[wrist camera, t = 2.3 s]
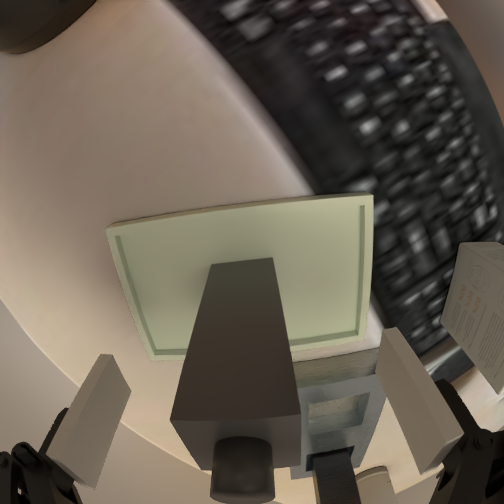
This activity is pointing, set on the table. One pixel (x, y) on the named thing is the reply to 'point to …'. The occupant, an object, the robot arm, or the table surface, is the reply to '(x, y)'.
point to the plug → (240, 384)
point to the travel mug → (375, 487)
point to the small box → (479, 308)
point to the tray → (247, 248)
